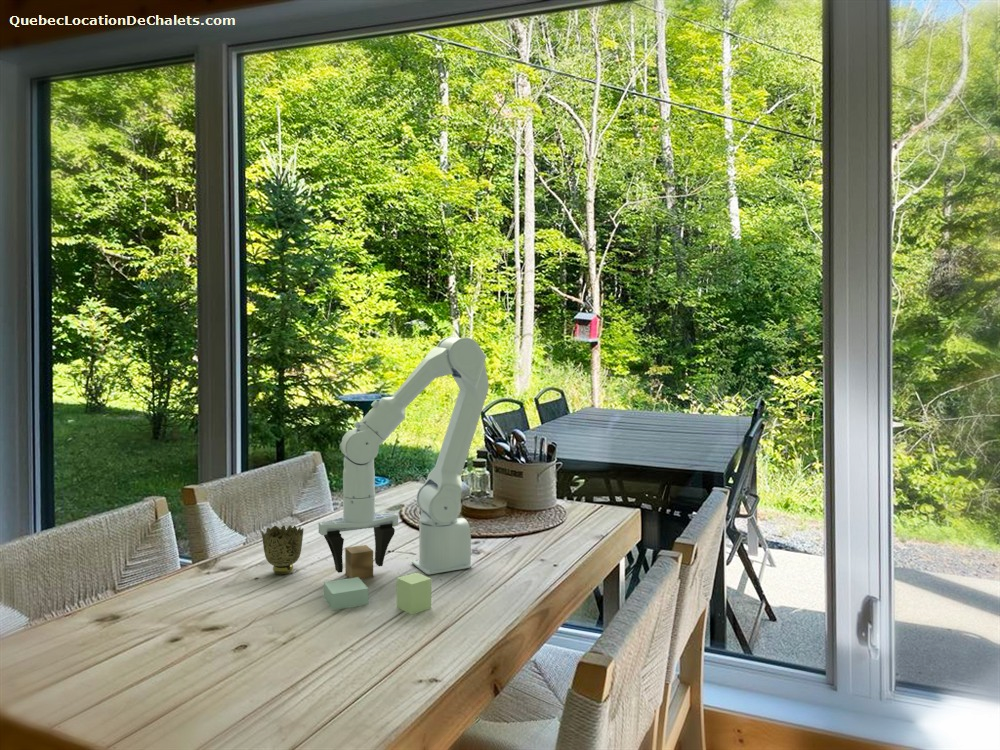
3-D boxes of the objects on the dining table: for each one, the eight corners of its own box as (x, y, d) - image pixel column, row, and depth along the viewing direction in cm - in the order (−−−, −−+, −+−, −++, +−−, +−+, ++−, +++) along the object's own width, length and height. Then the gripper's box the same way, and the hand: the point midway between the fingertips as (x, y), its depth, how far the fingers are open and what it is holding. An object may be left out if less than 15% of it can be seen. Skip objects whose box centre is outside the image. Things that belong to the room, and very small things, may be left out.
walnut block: (366, 570, 143) (366, 544, 143) (373, 577, 140) (373, 550, 139) (345, 574, 141) (345, 547, 141) (352, 580, 138) (352, 553, 137)
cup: (292, 580, 137) (291, 537, 137) (254, 577, 139) (254, 534, 138) (310, 567, 145) (310, 526, 144) (274, 564, 146) (274, 523, 145)
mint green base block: (358, 593, 132) (358, 577, 132) (368, 605, 127) (368, 588, 126) (323, 599, 129) (323, 582, 129) (332, 611, 124) (332, 593, 124)
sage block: (416, 601, 128) (416, 572, 128) (431, 608, 125) (431, 578, 125) (396, 607, 125) (396, 577, 125) (411, 614, 123) (411, 584, 122)
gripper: (388, 486, 146) (388, 556, 147) (313, 494, 139) (314, 567, 140) (402, 494, 140) (402, 566, 141) (324, 503, 133) (325, 578, 134)
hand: (359, 567), depth 140 cm, fingers open, 7 cm apart
